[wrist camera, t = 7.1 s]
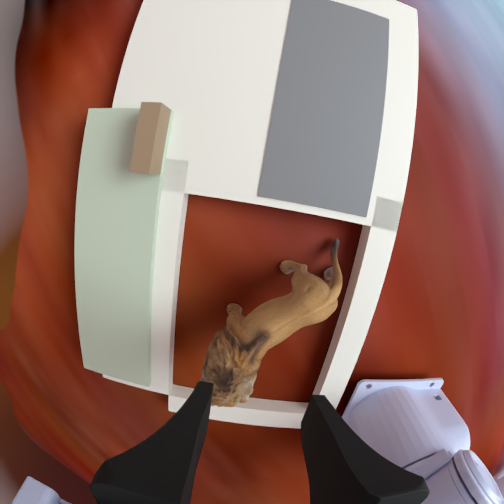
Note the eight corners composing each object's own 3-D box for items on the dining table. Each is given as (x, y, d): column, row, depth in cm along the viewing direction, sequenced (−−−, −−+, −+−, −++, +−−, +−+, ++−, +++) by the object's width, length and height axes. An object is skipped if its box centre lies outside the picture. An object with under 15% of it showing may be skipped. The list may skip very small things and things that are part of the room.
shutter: (173, 111, 16) (161, 102, 14) (151, 382, 21) (141, 403, 19) (93, 109, 16) (73, 103, 14) (87, 363, 21) (73, 381, 19)
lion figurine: (240, 363, 23) (235, 430, 15) (198, 330, 22) (177, 392, 15) (354, 257, 20) (399, 296, 13) (313, 214, 20) (345, 236, 13)
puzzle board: (409, 16, 15) (417, 9, 14) (323, 418, 24) (326, 429, 23) (163, -25, 15) (158, -36, 13) (111, 383, 23) (105, 394, 22)
